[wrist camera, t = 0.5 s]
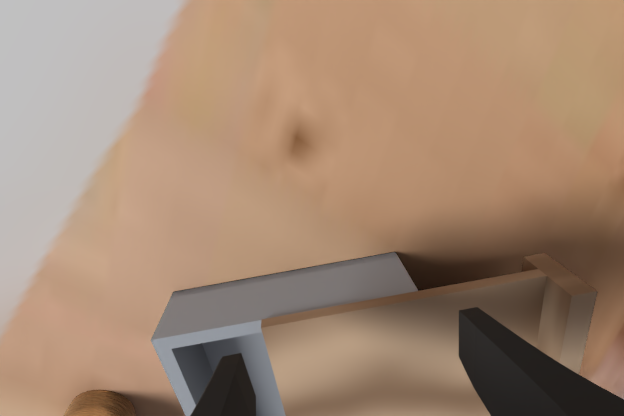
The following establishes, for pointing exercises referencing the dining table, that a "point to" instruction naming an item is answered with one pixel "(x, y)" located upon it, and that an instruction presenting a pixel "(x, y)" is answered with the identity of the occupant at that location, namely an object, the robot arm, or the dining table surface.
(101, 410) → the cylinder
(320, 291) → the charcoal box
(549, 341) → the box lid
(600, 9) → the dining table surface
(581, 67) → the dining table surface
